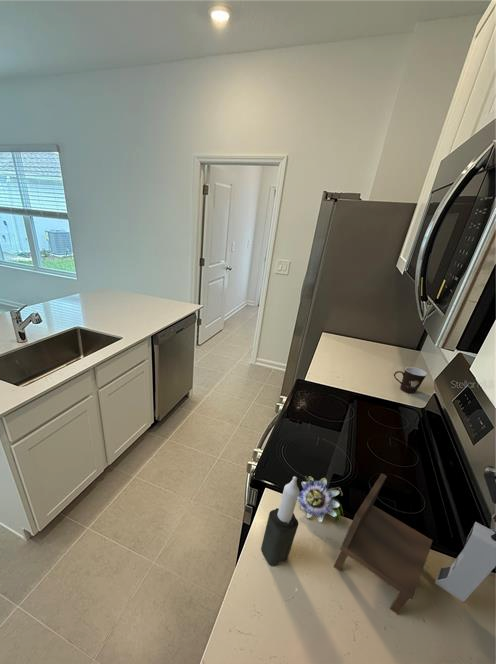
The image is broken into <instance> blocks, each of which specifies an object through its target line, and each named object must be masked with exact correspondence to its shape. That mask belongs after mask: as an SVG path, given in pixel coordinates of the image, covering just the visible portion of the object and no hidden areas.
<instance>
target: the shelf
mask: <svg viewBox="0 0 496 664" xmlns="http://www.w3.org/2000/svg"><path fill="white" fill-rule="evenodd" d="M387 477H388V476H387V475H386V474H385V473H380V475H379V477H378V478H377V480H376V481H375V482H374V485H373V486H372V488H371V489H370V491H369V492H368V494H367V495H366V497H365V499H364V500H363V502H362V503H361V505H360V507H359V508H358V510H357V511H356V513H355V514H354V517H353V518H352V521H351V523H350V524H349V525H350V526H349V528H348V530H347V532H346V535H345V537H344V538H343V541H342V543H341V546H340V548H339V550H340V551H339V554H338V556H337V558H336V560H335V562H334V565H333V567H334V568H335V569H337V570H338V571H339V572H340V571H341V570H342V568H343V567H344V565H345V563H346V560H347V559H348V557H350V558H351V559H352V560H354V561H355V562H357V563H358V564H359V565H361V566H363V567H364V568H365V569H367V570H368V571H369V572H371V573H372V574H374V575H375V576H377V577H378V578H379V579H381V580H382V581H384V582H385V583H386V584H388V585H389V586H391V587H392V588H393V589H395V590H396V591H398V592H399V593H398V594H397V595H396V597H395V598H394V600H393V601H392V603H391V605H390V606H389V607H390V608H389V610H390V611H392V612H394V614H396V615H399V614H400V612H401V611H402V610H403V608H404V607H405V606H406V605H407V603H408V601H409V600H410V601H411V600H413V598H414V597H415V596H416V591H417V589H418V587H419V583H420V580H421V576H422V575H423V571H424V568H425V565H426V563H427V559H428V556H429V553H430V549H431V547H432V544H433V539H431V538H429V537H428V536H426V535H424V534H422V533H421V532H419V531H417V530H416V529H414V528H412V527H411V526H409V525H407V524H406V523H404V522H402V521H401V520H399V519H397V518H395V517H394V516H392V515H390V514H389V513H387V512H385V511H384V510H382V509H381V508H378V507H377V506H375V505H374V504H375V502H376V500H377V499H378V496H379V494H380V492H381V490H382V487H383V485H384V483H385V481H386V479H387Z"/></svg>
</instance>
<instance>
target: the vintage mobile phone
mask: <svg viewBox="0 0 496 664" xmlns="http://www.w3.org/2000/svg"><path fill="white" fill-rule="evenodd" d="M495 568H496V531H495V530H492V529H490V528H488V527H486V526H485V525H482V524H481V523H479V522H477V521H475V522H474V523H473V526H472V527H471V529H470V532H469V533H468V535H467V536H466V541H465V544H464V547H463V549H462V550H461V552H460V553H459V554H458V556H457V557H455V559H454V561H453V562H452V563H451V564H450V566H449V565H448V566H444V567H440V569H439V570H438V573H437V576H436V579H435V581H434V583H435V584H436V585H437V586H438V587H440V588H441V589H443V590H444V591H445V592H447V593H448V594H450V595H452V596H453V597H454V598H456V599H457V600H459V601H460V602H462V603H464V602H465V601H466V600H467V599H468V598H469V597H470V595H471V594H473V593H474V591H475V590H476V589H477V588H478V587H479V586H480V584H482V583H483V582H484V580H485V579H486V578H487V577H488V576H489V574H490V573H491V572H492V571H493V570H494V569H495Z"/></svg>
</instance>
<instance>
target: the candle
mask: <svg viewBox="0 0 496 664" xmlns="http://www.w3.org/2000/svg"><path fill="white" fill-rule="evenodd" d="M297 481H298V477H297V476H294V475H293V476H292V479H291V481H290V482H288V483H286V484H285V485H284V487H283V491H282V495H281V499H280V502H279V503H280V504H279V506H278V508H277V507H276V508H275V509H273V510H270V511H269V513H268V518H267V522H266V525H265V529H264V534H263V539H262V543H261V547H260V551H261V553H262V555H263V557H264V558H265V561H266V562H267V564H268V565H269V566H271V567H275V566H276V565H278V564H281V563H286V562H287V561H288V558H289V556H290V552H291V550H292V546H293V543H294V540H295V536H296V533H297V531H298V527H299V521H298V518H297V517H296V515H295V513H294V511H295V507H296V504H297V502H298V500H297V498H298V495H299V492H300V488H299V487H298V483H297Z"/></svg>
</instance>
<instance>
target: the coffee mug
mask: <svg viewBox="0 0 496 664" xmlns="http://www.w3.org/2000/svg"><path fill="white" fill-rule="evenodd" d="M398 373H400V374H402V379H401V381H400V380H399V379H398V378H397V377H396V375H397V374H398ZM427 375H428V373H427V372H426V371H425V370H423V369H420V368H419V367H414V366H407V367H405V368H404V372H403V371H401V370H397V371H395V372H394V373H393V377H394V379H395V380H396V381H397V382H398V383H399V384H400V387H399V389H400V390H401V391H402V392H404V393H406V394H411V395H414V394H416V392H417V391H418V389H419V388H420V386H421V384H422V383H423V381H424V380H425V379H426V377H427Z"/></svg>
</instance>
